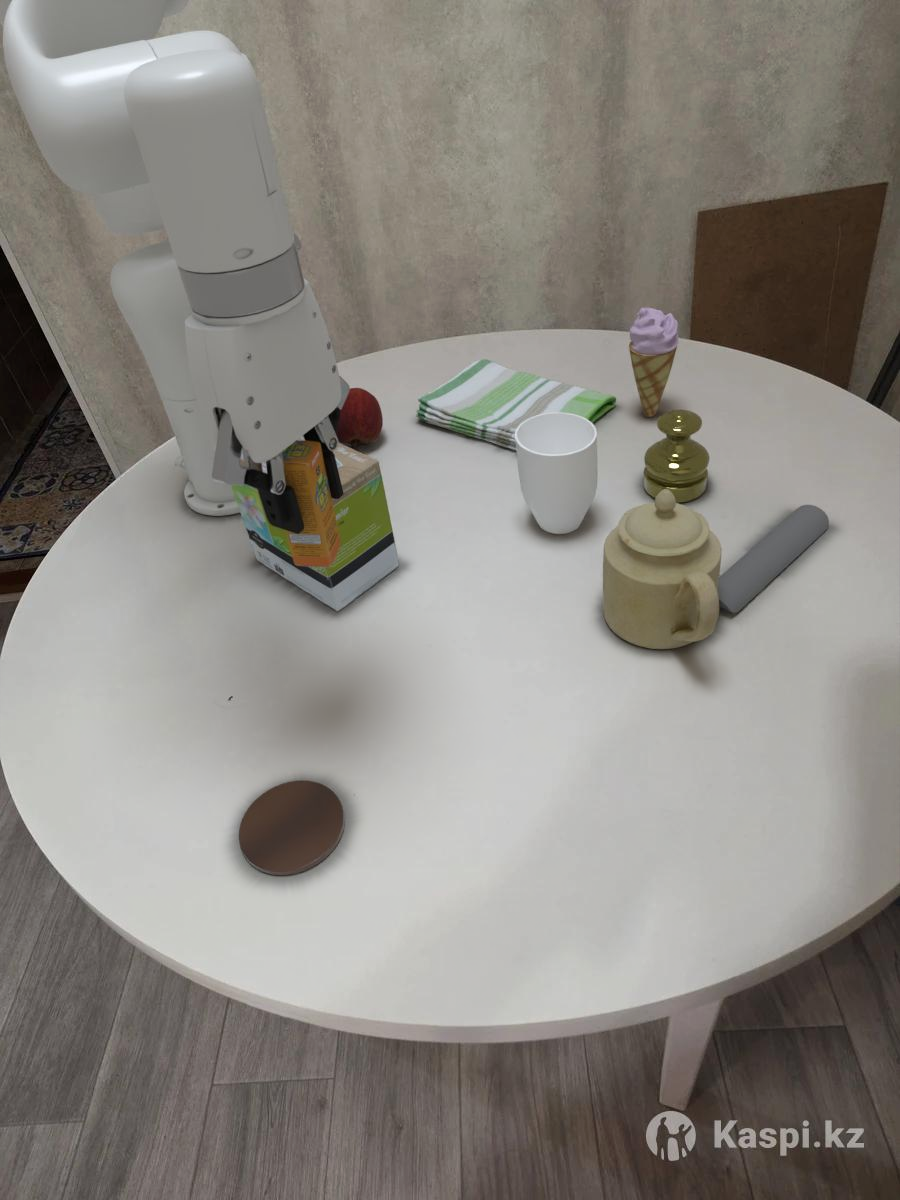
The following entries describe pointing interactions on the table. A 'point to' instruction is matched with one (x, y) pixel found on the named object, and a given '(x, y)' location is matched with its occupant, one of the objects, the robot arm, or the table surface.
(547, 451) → the mug
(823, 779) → the table surface
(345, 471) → the tea box
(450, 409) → the dish towel
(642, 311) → the ice cream cone
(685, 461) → the brass weight
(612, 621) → the sugar bowl
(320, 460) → the supplement box
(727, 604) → the gray half cylinder
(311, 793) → the coaster
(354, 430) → the apple
